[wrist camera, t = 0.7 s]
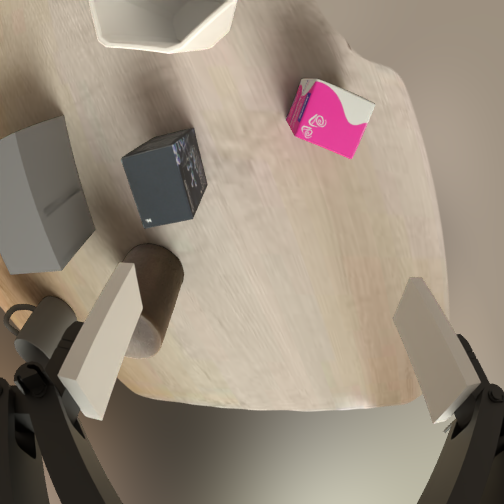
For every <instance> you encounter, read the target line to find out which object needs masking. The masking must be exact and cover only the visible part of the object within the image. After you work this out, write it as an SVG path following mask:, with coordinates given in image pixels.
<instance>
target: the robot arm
mask: <svg viewBox="0 0 504 504" xmlns="http://www.w3.org/2000/svg"><path fill="white" fill-rule="evenodd" d="M142 309H143V306H142V301H141V297H140V292H139V287H138V282H137V277H136V271H135V266H134V263H122V262H119V264H118V265H117V267H116V268H115V270H114V272H113V273H112V275H111V277H110V278H109V280H108V282H107V283H106V285H105V287H104V288H103V290H102V292H101V294H100V295H99V297H98V299H97V301H96V302H95V304H94V306H93V308H92V309H91V311H90V313H89V315H88V317H87V318H86V320H85V322H78V321H75V322H73V323H72V324H71V325H70V326H69V327H68V328H67V329H66V330H65V332H64V334H63V336H62V338H61V340H60V341H59V343H58V345H57V348H56V349H55V350H54V352H53V354H52V356H51V358H50V360H49V362H48V364H47V366H46V368H45V370H44V368H43V366H42V365H41V364H39V363H38V362H33V361H31V362H27V363H25V364H23V365H21V366H20V367H19V368H18V370H17V371H16V373H15V375H14V382H15V384H16V385H17V386H10V385H9V384H8V382H7V381H6V380H5V379H3V378H0V504H50V503H49V498H48V494H47V488H46V482H45V476H44V469H43V462H42V457H43V460H44V462H45V465H46V467H47V470H48V472H49V475H50V478H51V480H52V483H53V485H54V487H55V490H56V492H57V494H58V496H59V498H60V501H61V503H62V504H123V503H122V502H121V500H120V498H119V497H118V495H117V493H116V491H115V490H114V488H113V486H112V485H111V483H110V481H109V479H108V478H107V476H106V474H105V472H104V470H103V468H102V466H101V464H100V462H99V460H98V459H97V456H96V454H95V453H94V450H93V449H92V447H91V444H90V442H89V440H88V438H87V436H86V433H85V431H84V429H83V426H82V424H81V422H80V420H79V418H78V417H77V416H78V413H79V411H80V410H81V411H82V412H83V414H84V415H85V416H87V417H90V418H94V419H98V420H102V419H103V416H104V413H105V410H106V407H107V404H108V401H109V398H110V395H111V392H112V389H113V386H114V383H115V380H116V378H117V375H118V372H119V369H120V366H121V364H122V361H123V358H124V356H125V353H126V350H127V348H128V345H129V342H130V340H131V337H132V334H133V332H134V329H135V327H136V324H137V322H138V319H139V317H140V314H141V312H142ZM393 320H394V323H395V325H396V327H397V330H398V332H399V334H400V337H401V339H402V341H403V344H404V346H405V349H406V351H407V354H408V356H409V359H410V361H411V364H412V366H413V369H414V371H415V374H416V377H417V379H418V382H419V385H420V387H421V390H422V393H423V395H424V398H425V401H426V404H427V407H428V410H429V413H430V415H431V419H432V422H433V424H434V423H438V422H442V421H446V420H448V419H449V418H450V416H452V414H453V413H454V414H455V417H456V419H455V420H454V421H453V422H452V423H451V424H450V425H449V426H448V427H447V428H446V429H445V430H444V432H447V431H448V430H449V429H450V431H449V433H448V437H447V439H446V442H445V444H444V447H443V449H442V452H441V454H440V457H439V459H438V461H437V464H436V466H435V468H434V471H433V473H432V475H431V477H430V479H429V481H428V483H427V485H426V487H425V489H424V491H423V493H422V495H421V497H420V499H419V501H418V503H417V504H504V392H503V390H502V389H501V388H500V387H499V386H498V385H495V384H490V383H489V381H488V380H487V377H486V375H485V373H484V371H483V369H482V367H481V365H480V363H479V361H478V359H476V356H475V354H474V352H472V348H471V346H470V345H469V343H468V341H467V340H466V339H465V338H464V337H463V336H462V335H461V334H456V333H455V331H454V329H453V328H452V326H451V324H450V322H449V321H448V319H447V317H446V316H445V314H444V312H443V311H442V309H441V307H440V306H439V304H438V302H437V301H436V299H435V297H434V296H433V294H432V292H431V291H430V289H429V288H428V286H427V285H426V283H425V281H424V280H423V278H422V277H409V280H408V283H407V285H406V288H405V290H404V293H403V295H402V298H401V300H400V302H399V305H398V307H397V309H396V312H395V314H394V316H393Z"/></svg>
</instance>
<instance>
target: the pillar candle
mask: <svg viewBox="0 0 504 504" xmlns="http://www.w3.org/2000/svg"><path fill="white" fill-rule="evenodd" d="M122 263H134V266H135V271H136V277H137V282H138V287H139V292H140V297H141V301H142V306H143V309H142V312H141V314H140V317H139V319H138V322H137V324H136V327H135V329H134V332H133V334H132V337H131V340H130V342H129V345H128V348H127V350H126V353H125V356H126V357H129V358H135V359H145V358H150V357H152V356H154V355H156V354H157V353H158V351H159V350H160V348H161V345H162V342H163V340H164V337H165V334H166V331H167V328H168V325H169V321H170V319H171V315H172V313H173V310H174V307H175V304H176V300H177V297H178V293H179V290H180V287H181V284H182V282H183V278H184V272H183V267H182V265H181V263H180V261H179V259H178V258H177V257H176V256H175V255H174V254H172V252H170V251H169V250H167V249H165V248H164V247H161V246H158V245H154V244H142V245H139V246H136V247H135V248H133V249H132V250H131V251H130V252H129V253H128V255H127V256H126V258H125V259H124V261H123V262H122Z"/></svg>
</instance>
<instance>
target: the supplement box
mask: <svg viewBox="0 0 504 504" xmlns="http://www.w3.org/2000/svg"><path fill="white" fill-rule="evenodd" d="M374 107H375V103H373V102H371V101H369V100H367V99H365V98H363V97H361V96H359V95H356V94H354V93H352V92H350V91H347V90H345V89H343V88H340V87H338V86H335V85H333V84H330V83H328V82H325V81H323V80H320V79H312V78H307V79H305V78H302V79H301V81H300V85H299V88H298V91H297V93H296V96H295V99H294V101H293V104H292V106H291V109H290V111H289V114H288V116H287V118H286V121H287V123H288V124H289V126H290V128H291V130H292V132H293V134H294V136H295V137H298V138H300V139H303V140H306V141H308V142H311V143H313V144H316V145H318V146H321V147H323V148H325V149H328V150H330V151H333V152H335V153H337V154H340V155H342V156H344V157H346V158H349V159H352V158H353V156H354V154H355V151H356V149H357V147H358V145H359V142H360V140H361V138H362V136H363V134H364V131H365V129H366V126H367V124H368V122H369V119H370V117H371V114H372V112H373V109H374Z"/></svg>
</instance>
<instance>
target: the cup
mask: <svg viewBox="0 0 504 504" xmlns="http://www.w3.org/2000/svg"><path fill="white" fill-rule="evenodd" d="M88 2H89V7H90V11H91V15H92V20H93V24H94V28H95V32H96V36H97V40H98V41H99V42H100V43H101V44H103V45H104V46H105V47H112V48H125V49H136V50H145V51H153V52H160V53H167V54H171V53H179V52H188V51H198V50H205V49H209V48H212V47H213V46H214V45H215V44H216V43H217V42H218V41H219V40H221V39H222V38H223V37H224V36H225V35H226V34H227V33H229V31H230V28H231V25H232V21H233V17H234V13H235V9H236V5H237V2H238V0H88Z"/></svg>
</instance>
